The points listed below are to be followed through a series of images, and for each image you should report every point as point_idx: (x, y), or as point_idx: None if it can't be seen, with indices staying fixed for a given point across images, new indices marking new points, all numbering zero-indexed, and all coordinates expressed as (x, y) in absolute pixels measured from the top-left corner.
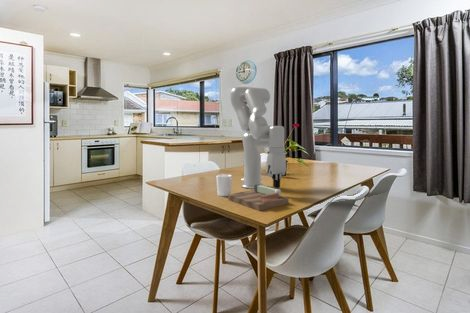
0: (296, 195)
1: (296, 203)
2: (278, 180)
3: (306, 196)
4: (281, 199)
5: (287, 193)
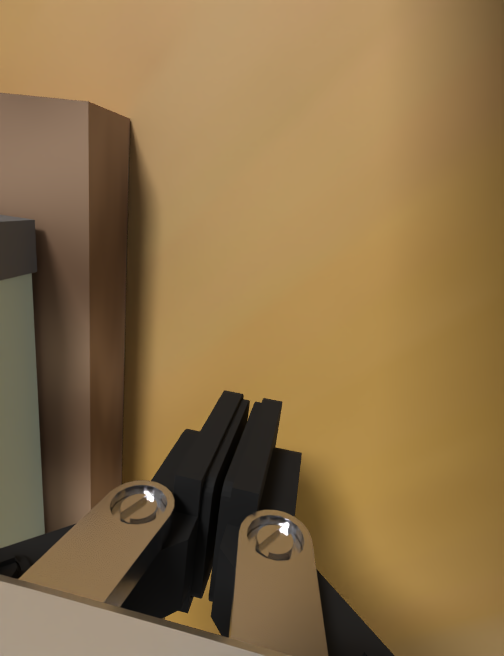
0: (455, 550)
1: None
2: (187, 602)
3: (485, 644)
4: None
5: (484, 424)
